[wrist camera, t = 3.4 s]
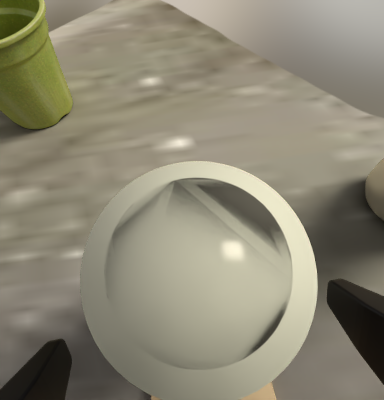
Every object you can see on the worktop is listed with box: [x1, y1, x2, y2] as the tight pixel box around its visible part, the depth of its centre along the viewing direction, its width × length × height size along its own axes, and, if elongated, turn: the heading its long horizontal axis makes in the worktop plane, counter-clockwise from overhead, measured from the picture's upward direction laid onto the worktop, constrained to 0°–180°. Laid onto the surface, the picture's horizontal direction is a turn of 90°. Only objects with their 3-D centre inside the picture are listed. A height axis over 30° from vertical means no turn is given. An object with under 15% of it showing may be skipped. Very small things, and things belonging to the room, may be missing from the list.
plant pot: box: [0, 0, 73, 129], centre depth 20 cm, size 9×9×9 cm
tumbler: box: [80, 161, 318, 400], centre depth 11 cm, size 5×5×12 cm
